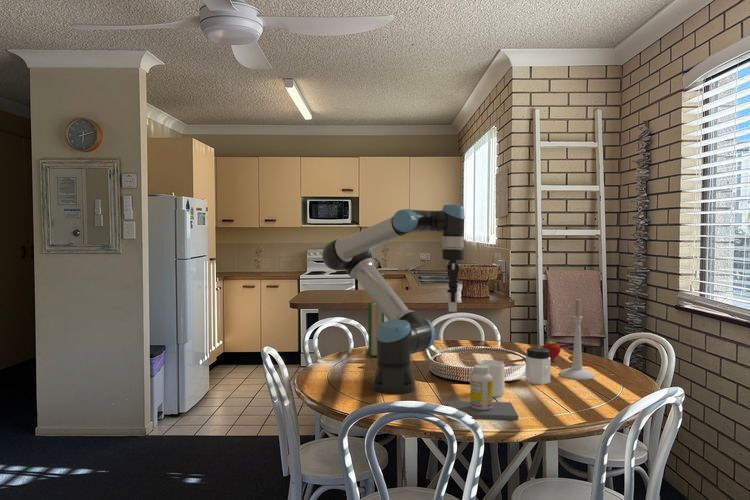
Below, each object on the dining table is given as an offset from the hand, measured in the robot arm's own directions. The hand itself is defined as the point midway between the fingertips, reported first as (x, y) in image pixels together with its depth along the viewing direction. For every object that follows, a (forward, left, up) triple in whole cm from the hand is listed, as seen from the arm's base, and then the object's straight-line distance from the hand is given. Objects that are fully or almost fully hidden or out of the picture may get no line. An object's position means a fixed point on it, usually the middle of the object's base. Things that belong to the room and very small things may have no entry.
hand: (452, 308), depth 201 cm
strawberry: (+45, +45, -28) cm, 70 cm away
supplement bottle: (+7, -26, -27) cm, 38 cm away
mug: (+11, -6, -28) cm, 31 cm away
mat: (+7, -26, -28) cm, 39 cm away
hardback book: (-27, +54, -28) cm, 67 cm away
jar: (+32, +11, -28) cm, 44 cm away
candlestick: (+49, +21, -28) cm, 61 cm away
